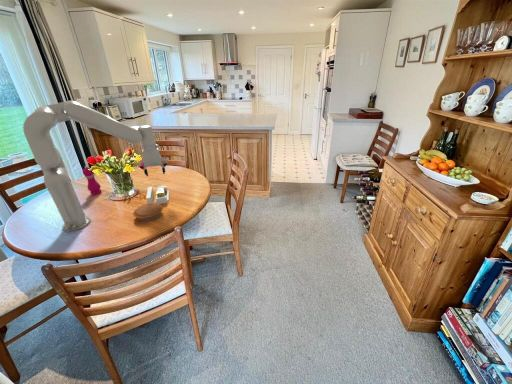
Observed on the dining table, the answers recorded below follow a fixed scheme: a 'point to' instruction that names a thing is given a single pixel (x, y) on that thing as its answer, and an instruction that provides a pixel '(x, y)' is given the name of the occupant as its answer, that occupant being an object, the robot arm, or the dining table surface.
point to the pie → (148, 211)
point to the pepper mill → (92, 182)
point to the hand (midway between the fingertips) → (155, 174)
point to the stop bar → (161, 191)
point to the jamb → (158, 199)
